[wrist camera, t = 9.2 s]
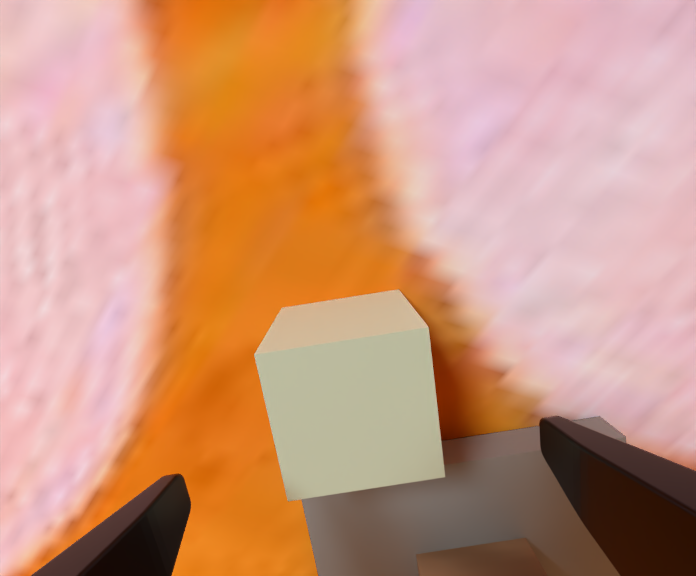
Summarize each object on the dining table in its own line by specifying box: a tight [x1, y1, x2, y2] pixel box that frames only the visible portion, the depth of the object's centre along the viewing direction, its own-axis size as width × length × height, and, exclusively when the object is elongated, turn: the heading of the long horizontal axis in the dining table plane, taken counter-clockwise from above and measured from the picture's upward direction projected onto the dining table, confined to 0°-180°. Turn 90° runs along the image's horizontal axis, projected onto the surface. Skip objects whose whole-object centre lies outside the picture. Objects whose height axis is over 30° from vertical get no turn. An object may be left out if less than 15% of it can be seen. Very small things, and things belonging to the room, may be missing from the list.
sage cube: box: [254, 289, 445, 501], centre depth 13 cm, size 5×5×5 cm
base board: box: [302, 416, 626, 576], centre depth 17 cm, size 14×14×2 cm
